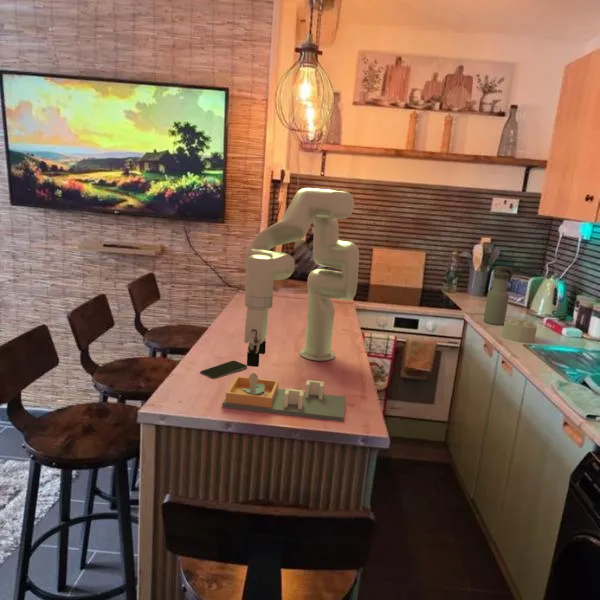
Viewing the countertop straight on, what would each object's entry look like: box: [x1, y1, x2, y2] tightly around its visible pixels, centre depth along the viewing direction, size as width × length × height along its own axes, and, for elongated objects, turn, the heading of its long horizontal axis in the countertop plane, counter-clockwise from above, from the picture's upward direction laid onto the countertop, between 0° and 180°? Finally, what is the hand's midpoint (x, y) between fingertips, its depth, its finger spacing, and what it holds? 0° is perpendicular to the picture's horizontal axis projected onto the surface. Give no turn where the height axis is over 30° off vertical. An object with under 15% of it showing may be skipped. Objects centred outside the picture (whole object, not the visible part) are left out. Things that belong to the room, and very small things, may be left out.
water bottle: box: [483, 265, 514, 326], centre depth 253 cm, size 10×10×28 cm
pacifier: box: [241, 372, 267, 396], centre depth 146 cm, size 7×6×6 cm
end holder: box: [225, 375, 280, 408], centre depth 147 cm, size 13×13×3 cm
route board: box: [221, 379, 346, 423], centre depth 146 cm, size 14×33×5 cm, turn 84°
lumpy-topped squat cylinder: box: [501, 317, 538, 344], centre depth 230 cm, size 10×13×9 cm
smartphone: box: [199, 360, 248, 380], centre depth 168 cm, size 7×1×15 cm
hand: (256, 359), depth 146 cm, fingers open, 9 cm apart
